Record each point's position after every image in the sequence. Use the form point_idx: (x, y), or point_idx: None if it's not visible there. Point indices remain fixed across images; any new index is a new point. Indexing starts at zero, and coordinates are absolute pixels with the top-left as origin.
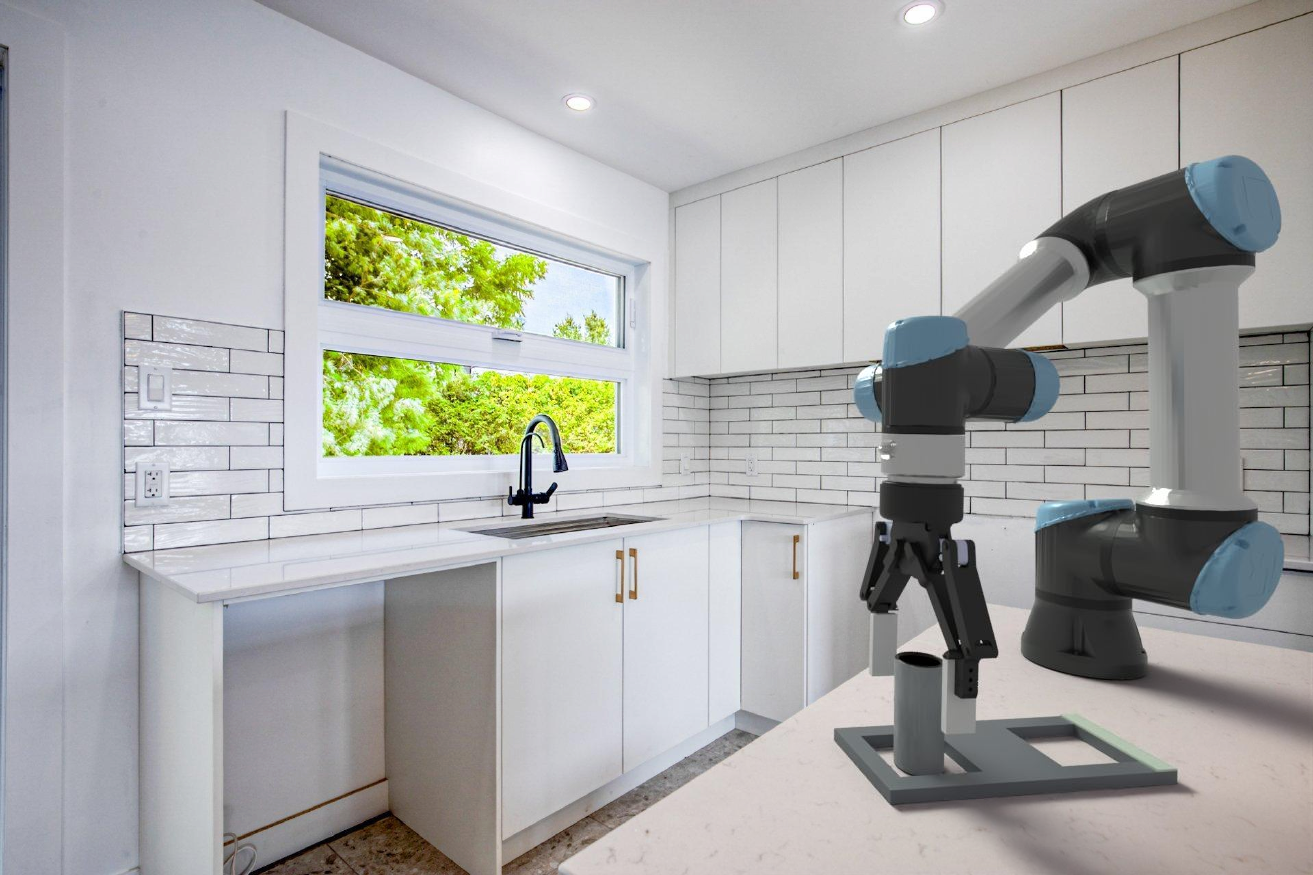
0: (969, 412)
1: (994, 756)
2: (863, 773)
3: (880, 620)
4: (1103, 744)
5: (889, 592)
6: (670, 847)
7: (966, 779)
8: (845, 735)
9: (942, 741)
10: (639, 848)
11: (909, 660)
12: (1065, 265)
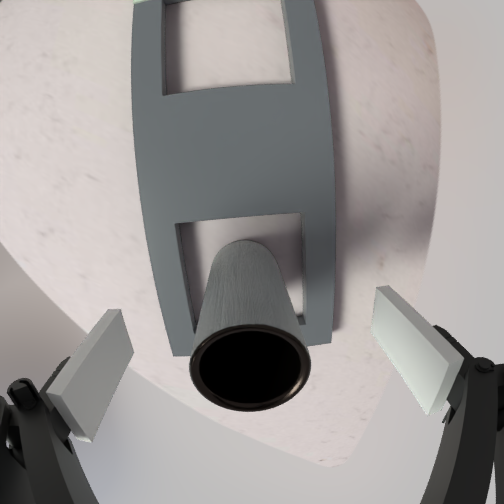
0: None
1: (261, 167)
2: None
3: (87, 419)
4: None
5: (82, 486)
6: (339, 451)
7: (322, 246)
8: None
9: (275, 266)
10: (335, 460)
11: (203, 364)
12: None
